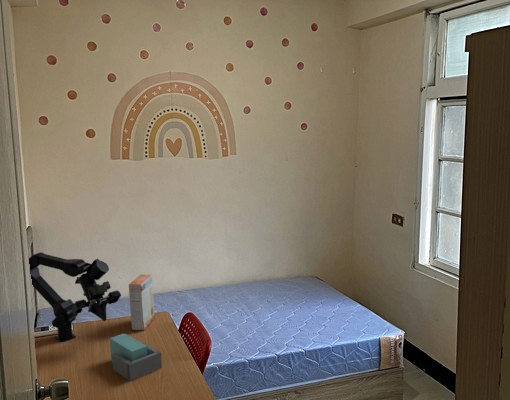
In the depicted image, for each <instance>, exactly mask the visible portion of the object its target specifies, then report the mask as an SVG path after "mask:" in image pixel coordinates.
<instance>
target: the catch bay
mask: <svg viewBox="0 0 510 400" xmlns="http://www.w3.org/2000/svg"><path fill="white" fill-rule="evenodd" d="M141 343H142V344H144V345H146V346H147V356H145V357H142V358H140V359H137V360H135V361H132V362H130V361H128V360H127V359H125V358H123V357H122V356H120V355H118V354H117V353H114V354H112V361H111V362H112V370H113V371H114V372H115V373H117V374H119V375H120V376H122V377H123V378H125V379H126V380H127V381H129V382H131V381H134V380H137V379H139V378H141V377H143V376H146V375H148V374H150V373H151V374H152V373H153V372H155V371H157V370H160V369H162V368H163V367H162V366H163V365H162V362H163V361H162V351H160V350H158V349H156V348H154V347H152V346H150V345H148V344H147V343H144V342H141Z"/></svg>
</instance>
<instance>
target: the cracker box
mask: <svg viewBox="0 0 510 400" xmlns="http://www.w3.org/2000/svg"><path fill="white" fill-rule="evenodd" d="M128 294H129V295H128V296H129V307H130V309H129V310H130V320H131V321H130V323H131V330H132V331H145V330H146V329H147V328H148V327H149V325H150V324H151V323H152V322H153V320H154V319H155V306H154V290H153V275H152V274H139V275H138V276H137V277H136V278H135V279H134V280H132V281H131V282H130V283H129V284H128Z"/></svg>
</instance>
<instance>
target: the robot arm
mask: <svg viewBox="0 0 510 400" xmlns="http://www.w3.org/2000/svg"><path fill="white" fill-rule="evenodd" d="M28 259H29V264H30V274H31V279H32V285H33V286H32V285H31V286H32V288H34V289H35V290H36V292H38V293H39V295H40V296H41V297H43V299H44V300H45V301H46V302H47V303H48V304H49V305H50V306H51V307H52V311H53V315H54V316H55V318H54V319H52V321H51V325H52V327H53V328H56V329H57V331H56V332H57V335H55V336H54V339H56V340H57V341H59V342H61V343H63V342H65V341H69V340H72V339H75V338H77V335H75V333H73V322H74V321H75V320H76V319H77V317H78V315H79V314H81V313H82V311H83V309H85V308H87V309H88V310H87V312H88V313H92V314H94V315H95V316H97V317H98V318H99V319H101V320H102V321H103V322H106V321H107V318H108V317H107V306H108V304H109V305H113V304H115V303H118V301H119V300H120V298H121V296H122V293H121V292H120V291H119V290H113V291H109V290H110V289H111V288H112V287H111V283H110V282H109V281H108V280H107V281H104V282H102V284H99V283H97V281H99V280H101V278H103V277H104V275H106V274H107V273H108V272H109V270H110V269H109V265H108V264H107V263H106V262H104V261H103V260H100V259H99V258H95V259H94V260H93V261H92V262H91V263H89V262H86V261H85V260H84V259H81V258H80V259H79V258H72V259H71V258H70V259H69V258H68V259H67V258H63V257H58V256H56V255H55V256H54V255H50V254H46V253H44V252H42V251H41V252H37V253H34V254H32V255H30V257H29V258H28ZM39 266H44V267H48V268H51V269H55V270H59V271H61V272H63V273H64V275H66V276H69V277H71V278H75V277H76V279H75V282H74V284H75V285H80V286H81V289H82V291H83V294H82V295H83V297H86V299H80V300H77V301H74V302H73V300H72V299H70V298H69V299H67V300H66V299H63V298H62V296H60V295H59V293H58V292H57V291H56V290H55V289H54V288H53V287H52V286H51V285H50V284H49V283H48V282H47V281H46V279H44V278H43V277H42V275H41V274H40V269H39ZM79 275H80V276H79ZM108 291H109V292H108ZM107 292H108V294H107V295H106V296H105V293H107ZM86 300H87V301H86Z"/></svg>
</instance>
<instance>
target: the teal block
mask: <svg viewBox="0 0 510 400" xmlns="http://www.w3.org/2000/svg"><path fill="white" fill-rule="evenodd" d="M142 343H143V342H140V341H138V340H137V339H135V338H133V337H131V336H130V335H128V334H126V333H121V334H119V335H116V336H112V337H110V338H109V345H110V346H109V347H110V349H109V350H110V361H111V362H112V354H114V353H117V354H118V355H120V356H122V357H123V358H125V359H127V360H128V361H130V362H132V361H135V360H137V359H140V358H142V357H145V356H147V346H146V345H144V344H142Z"/></svg>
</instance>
